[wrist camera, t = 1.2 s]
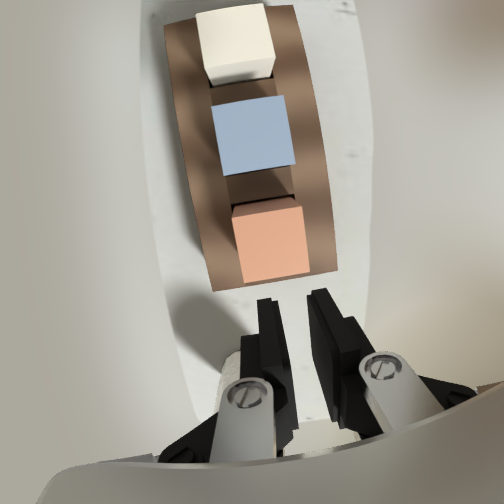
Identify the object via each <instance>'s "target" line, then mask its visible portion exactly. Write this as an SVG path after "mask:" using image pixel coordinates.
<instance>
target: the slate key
mask: <svg viewBox="0 0 504 504" xmlns="http://www.w3.org/2000/svg"><path fill="white" fill-rule="evenodd" d="M211 108H212V114H213V120H214V125H215V131H216V137H217V142H218V148H219V153H220V159H221V164H222V170H223V175H224V176H226V175H231V174H237V173H242V172H248V171H254V170H260V169H266V168H273V167H279V166H286V165H293V164H296V163H295V157H294V151H293V145H292V139H291V133H290V127H289V122H288V116H287V111H286V106H285V100H284V95H280V96H272V97H264V98H257V99H251V100H244V101H238V102H233V103H227V104H222V105H217V106H212V107H211Z"/></svg>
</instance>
